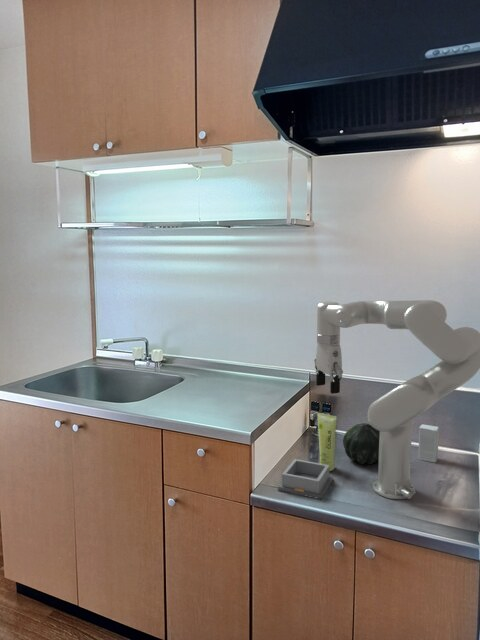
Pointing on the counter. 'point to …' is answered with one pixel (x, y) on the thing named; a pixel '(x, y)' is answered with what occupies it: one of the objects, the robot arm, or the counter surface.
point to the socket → (306, 478)
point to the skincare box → (428, 443)
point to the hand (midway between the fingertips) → (327, 388)
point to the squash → (362, 443)
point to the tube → (327, 439)
